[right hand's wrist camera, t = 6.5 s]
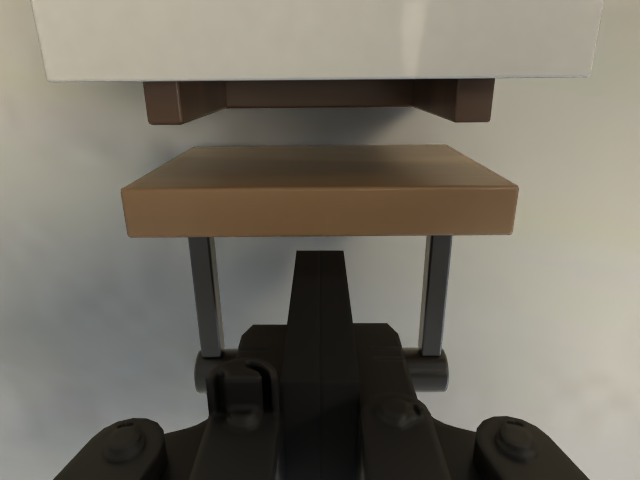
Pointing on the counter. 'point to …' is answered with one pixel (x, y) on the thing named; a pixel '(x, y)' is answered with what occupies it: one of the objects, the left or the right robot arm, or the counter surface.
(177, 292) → the counter surface
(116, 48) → the cabinet
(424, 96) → the drawer
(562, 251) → the counter surface
